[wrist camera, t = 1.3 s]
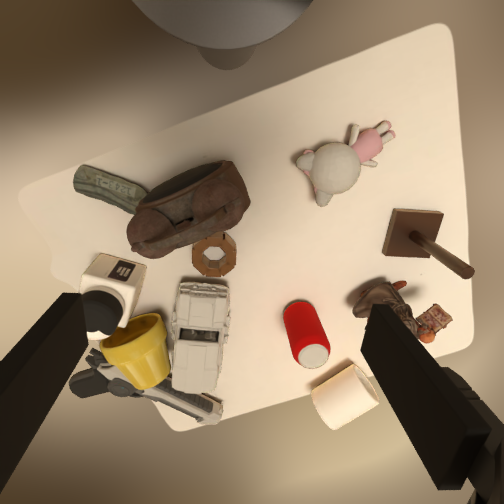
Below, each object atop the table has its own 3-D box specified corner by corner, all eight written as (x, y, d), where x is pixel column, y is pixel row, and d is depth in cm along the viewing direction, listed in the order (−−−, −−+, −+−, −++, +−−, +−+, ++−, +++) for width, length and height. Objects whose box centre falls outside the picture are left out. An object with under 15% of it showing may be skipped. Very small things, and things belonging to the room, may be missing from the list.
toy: (355, 107, 51) (284, 163, 48) (389, 96, 45) (310, 160, 42) (376, 153, 54) (311, 208, 51) (411, 148, 48) (338, 211, 45)
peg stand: (393, 208, 54) (448, 243, 40) (439, 211, 55) (508, 246, 41) (381, 252, 57) (429, 298, 44) (425, 254, 58) (485, 300, 44)
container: (100, 252, 54) (64, 293, 42) (147, 265, 55) (125, 308, 44) (92, 290, 57) (56, 339, 45) (137, 302, 58) (114, 352, 46)
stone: (160, 194, 48) (152, 224, 50) (164, 191, 50) (156, 220, 52) (76, 162, 47) (70, 194, 49) (83, 160, 49) (77, 191, 51)
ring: (193, 229, 53) (192, 236, 51) (236, 231, 54) (237, 238, 51) (193, 267, 56) (191, 276, 54) (234, 269, 57) (234, 277, 54)
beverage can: (281, 326, 62) (292, 373, 52) (283, 298, 60) (295, 342, 49) (313, 325, 63) (331, 372, 52) (316, 298, 60) (335, 340, 49)
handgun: (180, 448, 71) (224, 424, 65) (51, 395, 61) (88, 358, 54) (185, 424, 76) (226, 399, 69) (65, 370, 65) (101, 334, 58)
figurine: (425, 280, 60) (482, 332, 47) (410, 313, 63) (460, 371, 49) (353, 271, 59) (390, 322, 45) (341, 305, 61) (373, 363, 48)
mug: (330, 434, 61) (344, 422, 71) (377, 406, 59) (384, 397, 69) (305, 392, 65) (322, 386, 75) (349, 364, 62) (360, 362, 73)
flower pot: (173, 389, 52) (148, 336, 49) (114, 406, 53) (86, 355, 50) (187, 351, 61) (167, 306, 59) (136, 366, 63) (114, 322, 60)
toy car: (235, 277, 57) (236, 310, 48) (223, 365, 65) (222, 408, 56) (176, 271, 56) (166, 304, 47) (171, 362, 64) (161, 405, 55)
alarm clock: (230, 145, 48) (231, 169, 30) (250, 189, 51) (261, 236, 33) (143, 185, 50) (93, 231, 32) (167, 226, 53) (134, 290, 34)
